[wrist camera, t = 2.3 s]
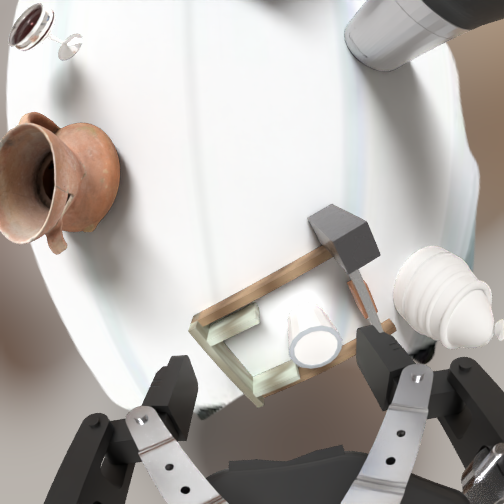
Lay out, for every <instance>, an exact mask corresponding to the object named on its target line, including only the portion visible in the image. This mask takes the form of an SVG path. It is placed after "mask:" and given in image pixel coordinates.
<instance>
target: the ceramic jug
mask: <svg viewBox="0 0 504 504" xmlns="http://www.w3.org/2000/svg"><path fill="white" fill-rule="evenodd" d="M119 181H120V163H119V158H118V154H117V151H116V148H115V146H114V144H113V142H112V141H111V139H110V138H109V137H108V135H107V134H106V133H105V132H104V131H103V130H101V129H100V128H98V127H96V126H94V125H92V124H88V123H75V124H71V125H68V126H66V127H63V128H59V127H58V126H57V125H56V124H55V123H54V122H53V121H51V120H50V119H49V118H47V117H46V116H44V115H42V114H40V113H37V112H31V113H27V114H25V115H24V116H23V117H22V118H21V119H20V122H19V125H17V126H16V127H15V128H13V129H11V130H10V131H9V132H8V133H6V135H5V136H4V137H3V138H2V140H1V141H0V231H1V232H2V234H3V235H4V236H5V237H6V238H7V239H9V240H10V241H12V242H13V243H16V244H27V243H30V242H32V241H35V240H36V239H38V238H40V237H41V236H43V235H44V234H45V235H46V236H47V241H48V245H49V247H50V249H51V250H52V252H53V253H54V254H56V255H57V254H60V253H61V252H63V251H64V250H65V249H66V248H67V243H66V242H65V240H64V238H63V234H62V230H64V231H68V232H79V231H83V232H93V231H94V230H95V229H96V227H97V225H98V223H99V222H100V221H101V220H102V219H103V218H104V216H105V215H106V214H107V213H108V211H109V210H110V208H111V206H112V204H113V202H114V200H115V198H116V195H117V191H118V187H119Z"/></svg>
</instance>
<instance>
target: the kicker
mask: <svg viewBox="0 0 504 504" xmlns="http://www.w3.org/2000/svg"><path fill="white" fill-rule="evenodd" d="M307 219H308V220H309V222H310V224H311V226H312V228H313V230H314V232H315V234H316V235H317V237H318V239H319V241H320V243H321V244H322V245H323V246H324V247H325V248H326V249H327V251H328V252H329V253H330V254H331V255H332V256H333V257H334V259H335V260H336V261H337V262H338V263H339V264H340V266H341V267H342V268H343V269H344V270H345V271H346V273H347V274H348V275H349V276H350V278H351V280H350V281H349V282H347V284H348V286H349V289H350V291H351V293H352V295H353V297H354V300H355V302H356V304H357V306H358V308H359V310H360V311H361V313H362V314H363V316H364V317H365V319H367V318H368V319H369V322H370V324H371V325H374V327H375V328H376V329H377V330H378V332H379V333H382V332H383V329H382V326H381V324H380V321H379V318H378V316H377V312H378V311H377V308H376V305H375V303H374V300H373V298H372V295H371V293H370V290H369V288H368V286H367V284H366V283H365V282H364V280H363V279H362V277H361V274H360V272H359V270H358V269H359V268H361V267H363V266H364V265H366V264H367V263H369V262H371V261H372V260H374V259H376V258H377V257H379V256H380V252H379V249H378V247H377V244H376V242H375V240H374V237H373V235H372V232H371V230H370V228H369V225H368V223H367V221H365V220H363V219H361V218H359V217H357V216H355V215H353V214H351V213H349V212H347V211H345V210H343V209H341V208H339V207H337V206H335V205H333V204H331V205H329V206H327V207H326V208H324V209H322V210H320V211H319V212H317V213H315V214H313V215H312V216H310V217H308V218H307Z"/></svg>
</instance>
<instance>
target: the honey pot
mask: <svg viewBox="0 0 504 504" xmlns="http://www.w3.org/2000/svg"><path fill="white" fill-rule="evenodd" d="M393 301H394V304H395V308H396V309H397V311H398V312H399V314H400V315H401V316H402V317H403V318H404V319H405V320H406V322H407V323H408V324H409V325H410V326H411V327H412V328H413V329H414V330H415V331H417V332H418V333H420V334H422V335H426V336H428V337H431V338H432V339H433V340H436V341H441V343H442V345H443V346H445V347H446V348H447V349H457V348H460V347H466V348H477V347H481V346H484V345H486V344H487V343H488V342H489V341H490V340H491V339H492V337H493V336H494V335H496V337H497V338H498V339H499V341H502V340H504V319H501V320H499V321H497V323H496V324H495V326H494V318H493V313H492V309H491V303H492V294H491V290H490V287H489V286H488V285H487V283H485V282H483V281H478V279H477V278H476V276H475V275H474V274H473V273H472V271H471V270H470V269H469V266H468V265H467V264H466V262H465V261H464V260H463V259H462V258H460V257H458V256H456V255H454V254H453V253H451V252H449V251H447V250H445V249H443V248H441V247H439V246H427V247H424V248H421V249H420V250H418V251H416V252H415V253H413V254H412V255H411V256H410V257H409V258H408V259H407V260H406V262H405V263H404V265H403V266H402V268H401V269H400V271H399V273H398V275H397V278H396V280H395V284H394V289H393ZM494 327H495V328H494Z"/></svg>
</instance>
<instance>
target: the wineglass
mask: <svg viewBox="0 0 504 504" xmlns="http://www.w3.org/2000/svg"><path fill="white" fill-rule="evenodd" d="M54 23H55V14H54V12H53V11H52V10H51V9H50V8H48V7H43V5H42V4H41V3H37V4H35V5H33V6H31V7H29V8H28V9H27V10H26V11H25V12H24V13H23V14H22V15H21V16H20V17H19V18H18V19H17V21H16V22H15V24H14V26H13V27H12V29H11V31H10V35H9V38H8V44H9V46H11V47H13V46H15V47H16V48H17V49H19V50H22V51H26V50H31V49H34V48H35V47H37V46H39V45H40V44H42V43H43V42H44V41H45V40H46V39H47V38H48V39H51V40H53V41H56V42H58V43H60V44H62V45H61V46H60V49H59V52H58V56H59V58H60V59H61V60H67V59H69V58H71V57H72V56H73V55H74V54H75V53H76V52H77V51H78V49H79V48H80V46H81V44H82V36H81V35H80V34H73V35H71V36H69V37H68V38H67V39H66V40H65V41H64V42H63V41H62V40H60V39H58V38H57V37H55V36H54V35H52V34H51V32H52V30H53V27H54Z"/></svg>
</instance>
